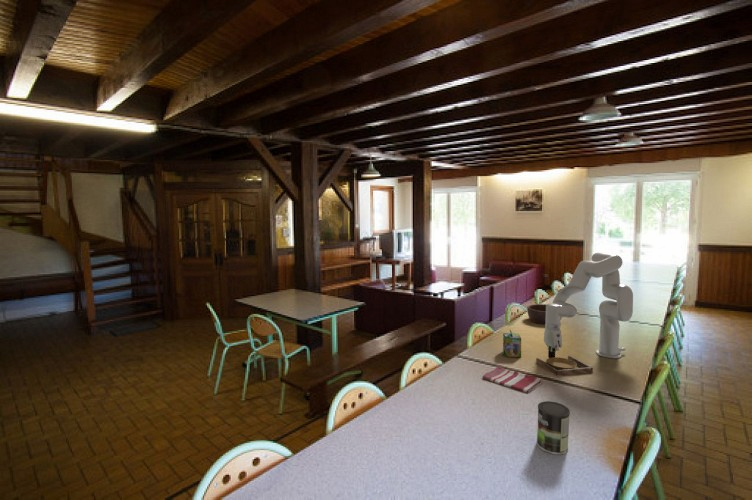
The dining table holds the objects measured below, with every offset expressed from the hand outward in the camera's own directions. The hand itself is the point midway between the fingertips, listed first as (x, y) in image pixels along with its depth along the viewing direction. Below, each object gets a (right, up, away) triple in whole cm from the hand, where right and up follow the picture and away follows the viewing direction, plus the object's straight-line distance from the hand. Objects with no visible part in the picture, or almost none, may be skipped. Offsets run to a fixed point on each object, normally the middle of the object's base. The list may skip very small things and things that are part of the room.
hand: (551, 357), depth 215 cm
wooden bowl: (+30, +6, +77) cm, 83 cm away
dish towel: (-31, -5, -25) cm, 40 cm away
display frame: (+2, -2, -9) cm, 9 cm away
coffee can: (-35, -10, -78) cm, 86 cm away
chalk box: (-19, -1, +10) cm, 21 cm away
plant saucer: (+1, -3, -9) cm, 9 cm away
